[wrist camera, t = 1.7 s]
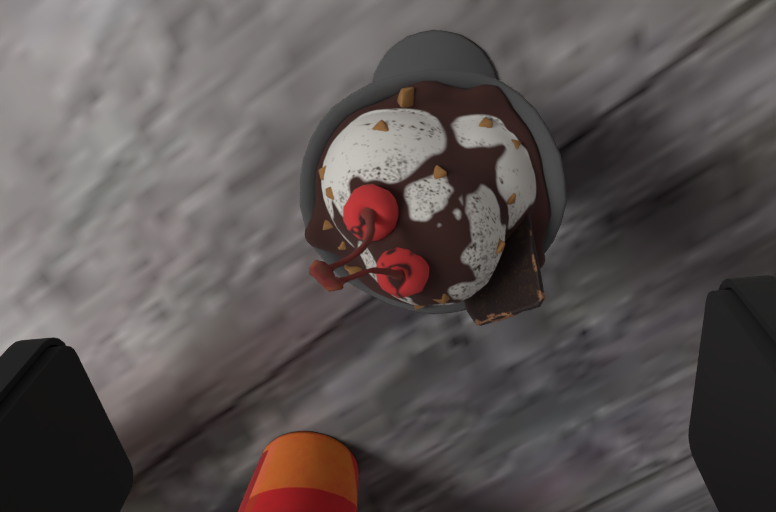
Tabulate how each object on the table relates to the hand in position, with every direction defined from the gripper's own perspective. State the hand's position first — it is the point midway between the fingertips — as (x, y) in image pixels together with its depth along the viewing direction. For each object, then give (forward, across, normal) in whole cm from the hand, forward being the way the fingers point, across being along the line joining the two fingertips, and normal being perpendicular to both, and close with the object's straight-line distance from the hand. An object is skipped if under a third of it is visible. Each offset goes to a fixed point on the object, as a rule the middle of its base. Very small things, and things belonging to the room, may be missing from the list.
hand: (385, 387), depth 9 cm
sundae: (+17, -1, 0) cm, 17 cm away
